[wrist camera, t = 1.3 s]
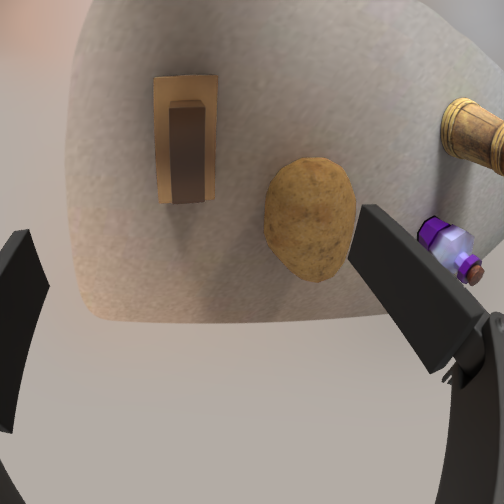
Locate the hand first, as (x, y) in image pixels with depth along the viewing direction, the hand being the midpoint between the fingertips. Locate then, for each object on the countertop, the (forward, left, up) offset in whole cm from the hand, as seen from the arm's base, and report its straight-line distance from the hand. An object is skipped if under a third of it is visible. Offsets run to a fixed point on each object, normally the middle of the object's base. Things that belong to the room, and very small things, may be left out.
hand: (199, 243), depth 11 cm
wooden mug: (-5, +38, -19) cm, 43 cm away
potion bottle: (+13, +36, -19) cm, 43 cm away
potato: (+8, +12, -19) cm, 24 cm away
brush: (0, 0, -19) cm, 19 cm away
